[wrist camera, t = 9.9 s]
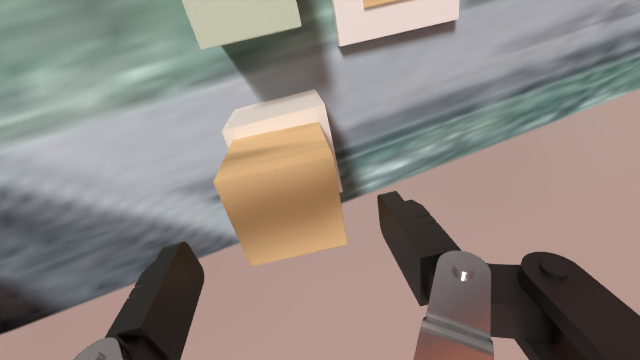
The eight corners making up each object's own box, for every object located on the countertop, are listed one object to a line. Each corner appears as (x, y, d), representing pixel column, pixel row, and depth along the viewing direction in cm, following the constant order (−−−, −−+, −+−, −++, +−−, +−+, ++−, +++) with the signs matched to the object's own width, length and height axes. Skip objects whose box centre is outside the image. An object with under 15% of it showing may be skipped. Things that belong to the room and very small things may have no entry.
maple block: (331, 193, 18) (347, 244, 13) (258, 209, 17) (250, 266, 13) (318, 121, 15) (333, 156, 11) (233, 139, 15) (213, 182, 11)
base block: (330, 160, 22) (342, 191, 18) (261, 178, 22) (257, 213, 18) (314, 88, 19) (324, 104, 15) (235, 109, 19) (221, 131, 15)
